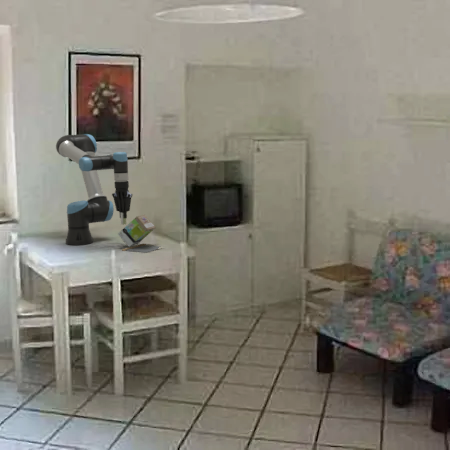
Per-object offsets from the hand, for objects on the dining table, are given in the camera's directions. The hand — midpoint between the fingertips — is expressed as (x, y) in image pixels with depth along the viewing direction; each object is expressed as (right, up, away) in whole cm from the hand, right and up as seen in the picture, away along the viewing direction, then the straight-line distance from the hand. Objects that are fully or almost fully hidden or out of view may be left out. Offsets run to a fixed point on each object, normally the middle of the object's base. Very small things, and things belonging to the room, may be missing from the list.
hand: (123, 224), depth 415 cm
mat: (+13, -13, -6) cm, 19 cm away
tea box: (+2, -8, +1) cm, 9 cm away
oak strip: (+6, -13, -2) cm, 14 cm away
